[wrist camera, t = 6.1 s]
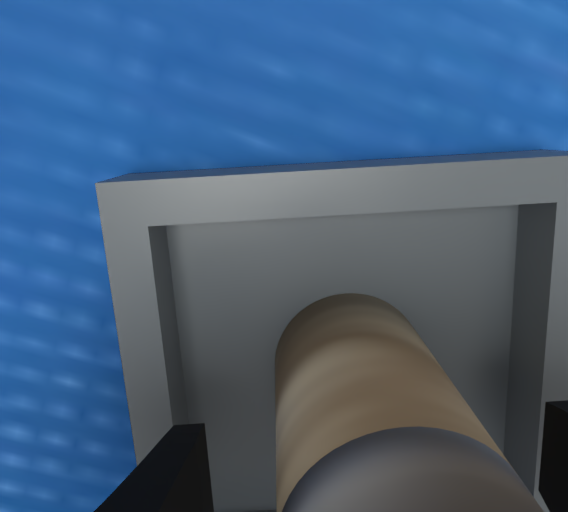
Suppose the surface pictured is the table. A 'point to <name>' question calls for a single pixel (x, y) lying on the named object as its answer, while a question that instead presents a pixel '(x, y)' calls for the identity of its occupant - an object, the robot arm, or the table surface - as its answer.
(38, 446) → the table surface
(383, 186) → the tray
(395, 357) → the cylinder
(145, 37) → the table surface
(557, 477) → the robot arm
